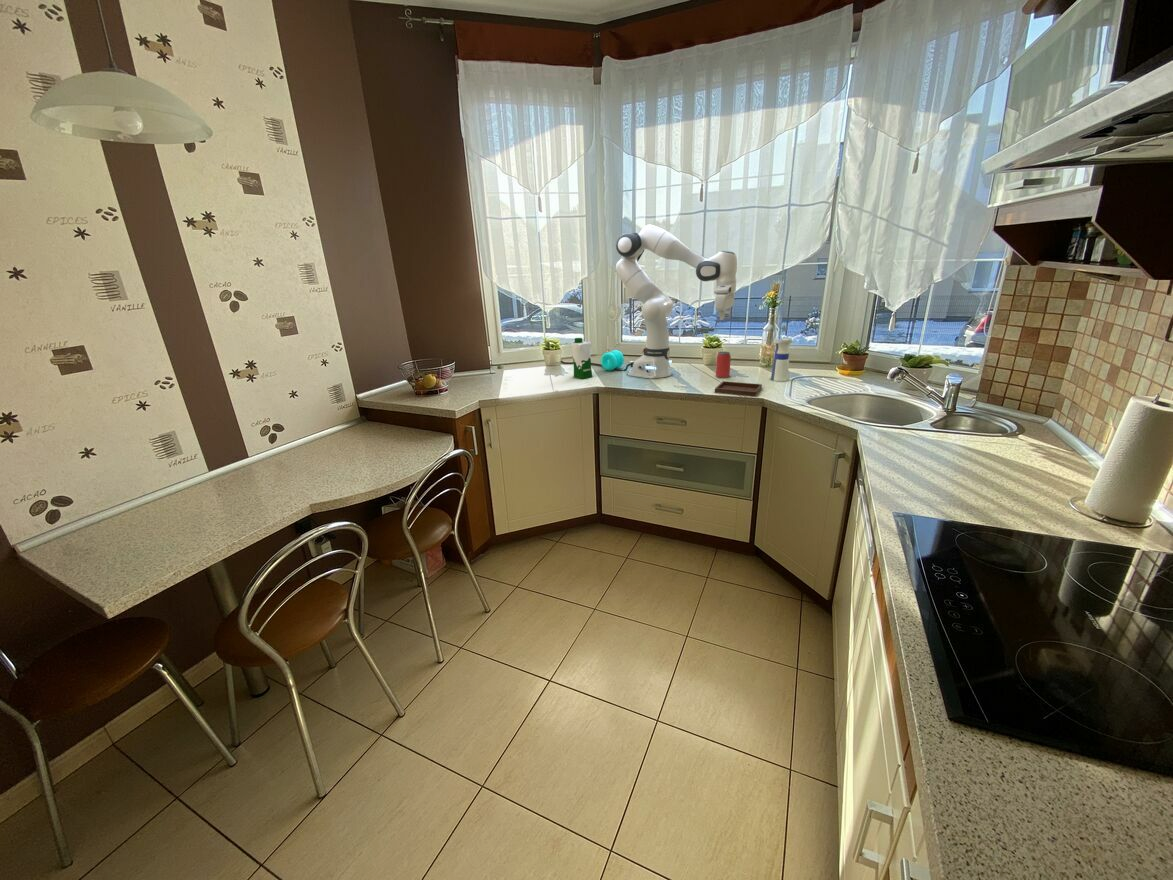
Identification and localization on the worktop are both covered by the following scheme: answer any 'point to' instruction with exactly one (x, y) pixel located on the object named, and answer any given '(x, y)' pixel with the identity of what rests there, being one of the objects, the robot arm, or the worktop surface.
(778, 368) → the water bottle
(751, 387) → the tray
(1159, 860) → the worktop surface
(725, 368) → the beer can
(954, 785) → the worktop surface
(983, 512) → the worktop surface
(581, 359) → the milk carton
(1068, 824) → the worktop surface
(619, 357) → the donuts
